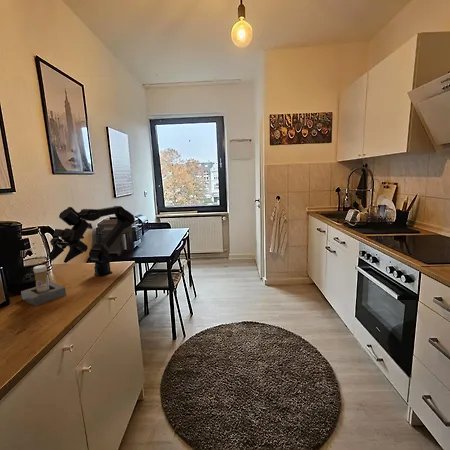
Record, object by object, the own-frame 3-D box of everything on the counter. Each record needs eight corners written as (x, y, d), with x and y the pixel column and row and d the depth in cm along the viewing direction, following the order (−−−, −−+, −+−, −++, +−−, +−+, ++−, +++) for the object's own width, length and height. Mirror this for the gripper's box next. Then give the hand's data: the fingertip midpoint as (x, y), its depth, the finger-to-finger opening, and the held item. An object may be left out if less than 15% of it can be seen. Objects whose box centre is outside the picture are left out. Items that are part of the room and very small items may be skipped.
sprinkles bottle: (36, 300, 116) (31, 268, 114) (40, 296, 121) (35, 265, 118) (49, 298, 118) (44, 267, 115) (52, 294, 122) (47, 264, 119)
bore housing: (53, 289, 127) (51, 282, 127) (66, 295, 120) (65, 287, 120) (22, 299, 118) (20, 291, 117) (34, 306, 111) (33, 297, 110)
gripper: (51, 220, 129) (29, 250, 122) (78, 222, 121) (57, 254, 113) (69, 234, 138) (50, 262, 130) (96, 236, 129) (77, 267, 122)
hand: (57, 261), depth 123 cm, fingers open, 9 cm apart
